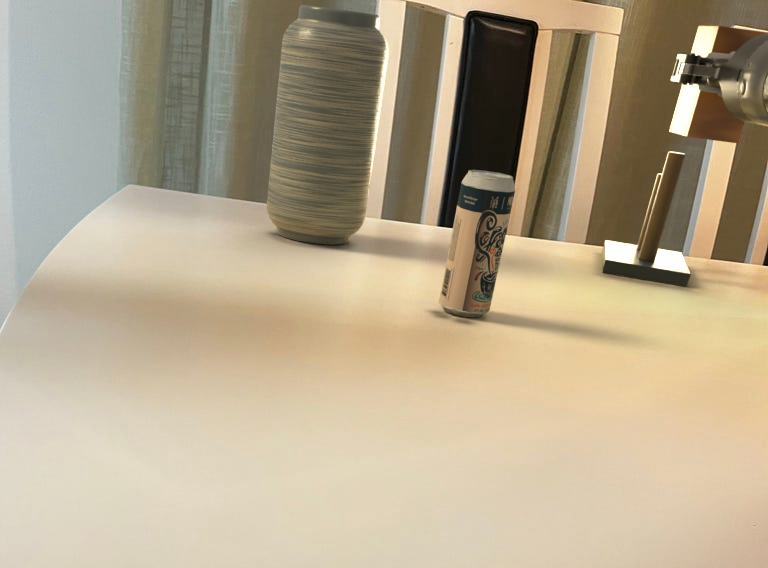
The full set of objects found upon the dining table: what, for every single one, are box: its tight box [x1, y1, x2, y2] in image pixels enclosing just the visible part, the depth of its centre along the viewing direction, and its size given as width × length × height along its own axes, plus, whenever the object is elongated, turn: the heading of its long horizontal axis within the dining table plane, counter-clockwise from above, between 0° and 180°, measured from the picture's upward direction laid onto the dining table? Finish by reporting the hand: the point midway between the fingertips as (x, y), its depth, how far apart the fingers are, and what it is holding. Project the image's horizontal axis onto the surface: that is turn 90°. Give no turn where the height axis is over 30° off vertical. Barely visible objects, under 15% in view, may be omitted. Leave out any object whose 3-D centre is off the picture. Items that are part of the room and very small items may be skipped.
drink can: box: [438, 169, 516, 318], centre depth 92 cm, size 5×5×12 cm
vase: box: [266, 4, 390, 246], centre depth 113 cm, size 12×12×23 cm
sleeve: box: [668, 25, 768, 144], centre depth 105 cm, size 6×6×10 cm
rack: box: [601, 151, 692, 287], centre depth 123 cm, size 10×16×14 cm, turn 165°
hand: (712, 72), depth 107 cm, fingers closed on sleeve, 5 cm apart
